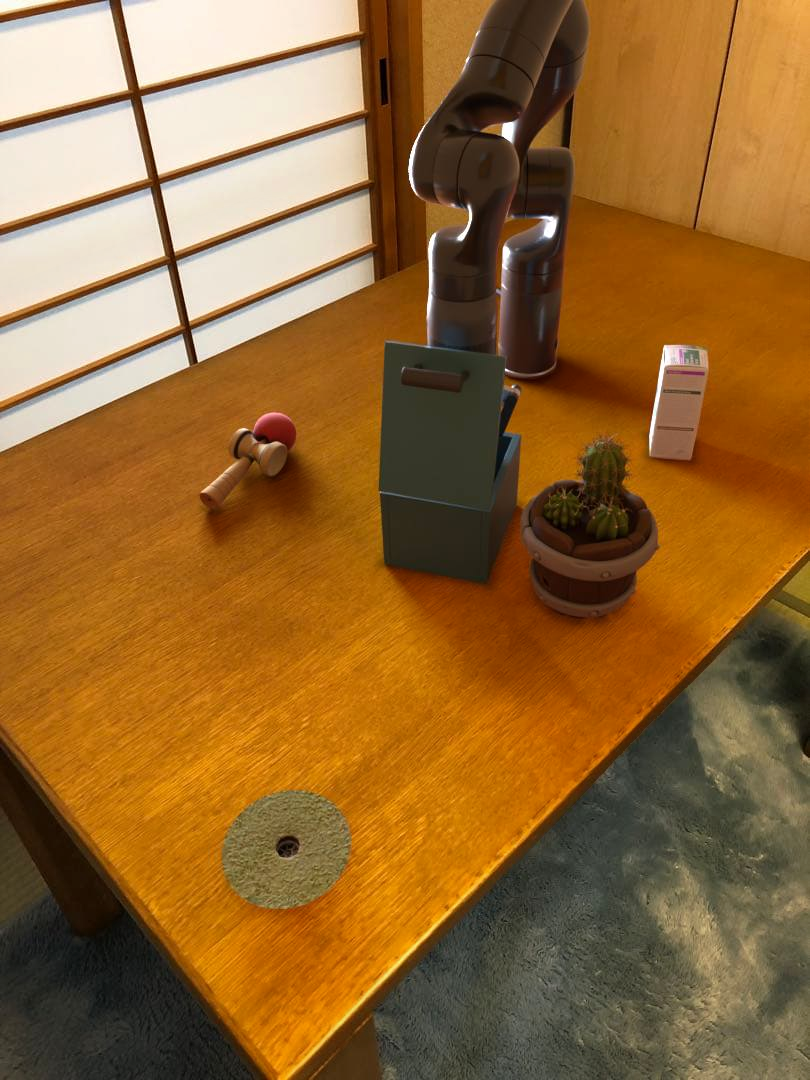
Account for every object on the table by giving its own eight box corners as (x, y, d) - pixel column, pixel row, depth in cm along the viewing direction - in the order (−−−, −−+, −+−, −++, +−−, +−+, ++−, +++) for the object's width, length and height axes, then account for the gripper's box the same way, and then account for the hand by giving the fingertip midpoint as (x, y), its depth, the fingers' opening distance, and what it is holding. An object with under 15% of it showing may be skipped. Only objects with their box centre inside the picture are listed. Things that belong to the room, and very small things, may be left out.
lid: (387, 340, 92) (369, 351, 87) (506, 355, 88) (495, 368, 84) (380, 488, 99) (363, 506, 94) (491, 508, 96) (479, 527, 91)
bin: (422, 488, 117) (421, 419, 110) (516, 504, 114) (521, 434, 107) (384, 564, 106) (379, 493, 99) (487, 585, 103) (490, 512, 96)
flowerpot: (619, 656, 94) (647, 510, 81) (492, 605, 100) (498, 462, 87) (665, 575, 103) (697, 433, 90) (546, 533, 109) (560, 395, 96)
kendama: (241, 526, 114) (315, 441, 124) (222, 490, 110) (300, 404, 120) (199, 517, 118) (273, 435, 128) (179, 481, 114) (258, 399, 124)
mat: (284, 947, 71) (281, 936, 70) (198, 863, 77) (194, 851, 76) (379, 851, 77) (378, 839, 76) (292, 779, 83) (290, 767, 82)
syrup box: (691, 461, 120) (712, 367, 110) (647, 457, 121) (664, 364, 111) (690, 438, 124) (709, 345, 115) (647, 434, 125) (663, 342, 116)
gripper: (534, 319, 96) (525, 448, 107) (410, 304, 99) (413, 431, 110) (519, 351, 90) (511, 484, 101) (388, 335, 94) (394, 464, 105)
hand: (460, 455), depth 106 cm, fingers closed on supplement box, 4 cm apart
